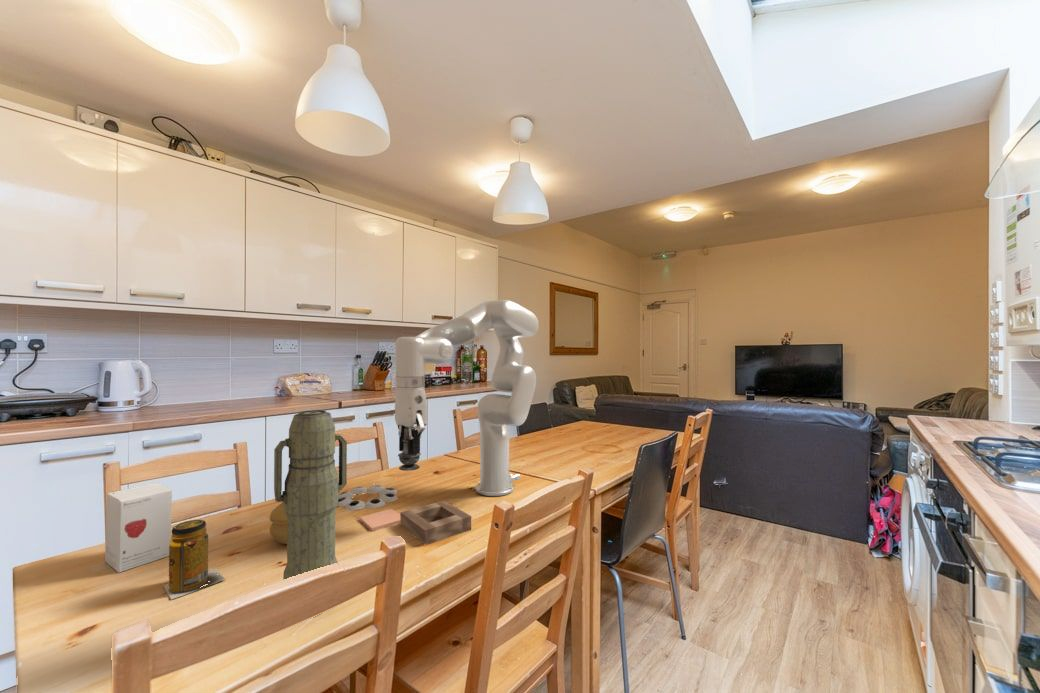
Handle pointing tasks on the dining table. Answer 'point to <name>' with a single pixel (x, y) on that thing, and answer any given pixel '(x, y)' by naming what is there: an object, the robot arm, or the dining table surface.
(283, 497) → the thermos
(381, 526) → the terracotta tile
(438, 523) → the brown square wooden frame
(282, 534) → the pot
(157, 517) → the supplement box
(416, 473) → the dining table surface
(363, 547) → the dining table surface
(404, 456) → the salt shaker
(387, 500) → the paint palette
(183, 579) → the condiment
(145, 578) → the dining table surface
